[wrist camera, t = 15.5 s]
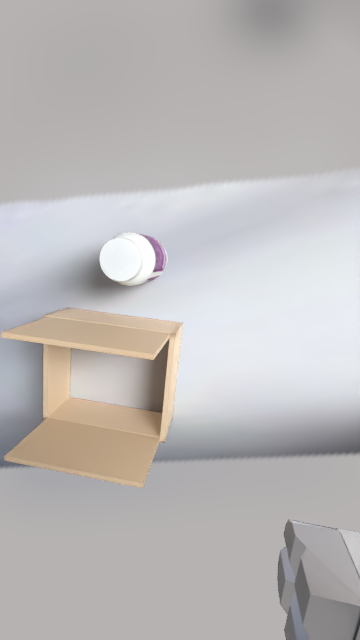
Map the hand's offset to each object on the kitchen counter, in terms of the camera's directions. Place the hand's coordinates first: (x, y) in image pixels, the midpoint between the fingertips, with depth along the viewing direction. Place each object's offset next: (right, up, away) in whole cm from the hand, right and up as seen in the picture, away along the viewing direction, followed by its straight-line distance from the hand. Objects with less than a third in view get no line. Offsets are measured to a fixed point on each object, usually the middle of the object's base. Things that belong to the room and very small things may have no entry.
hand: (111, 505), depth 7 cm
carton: (-6, -1, +33) cm, 34 cm away
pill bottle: (-2, +12, +30) cm, 33 cm away
